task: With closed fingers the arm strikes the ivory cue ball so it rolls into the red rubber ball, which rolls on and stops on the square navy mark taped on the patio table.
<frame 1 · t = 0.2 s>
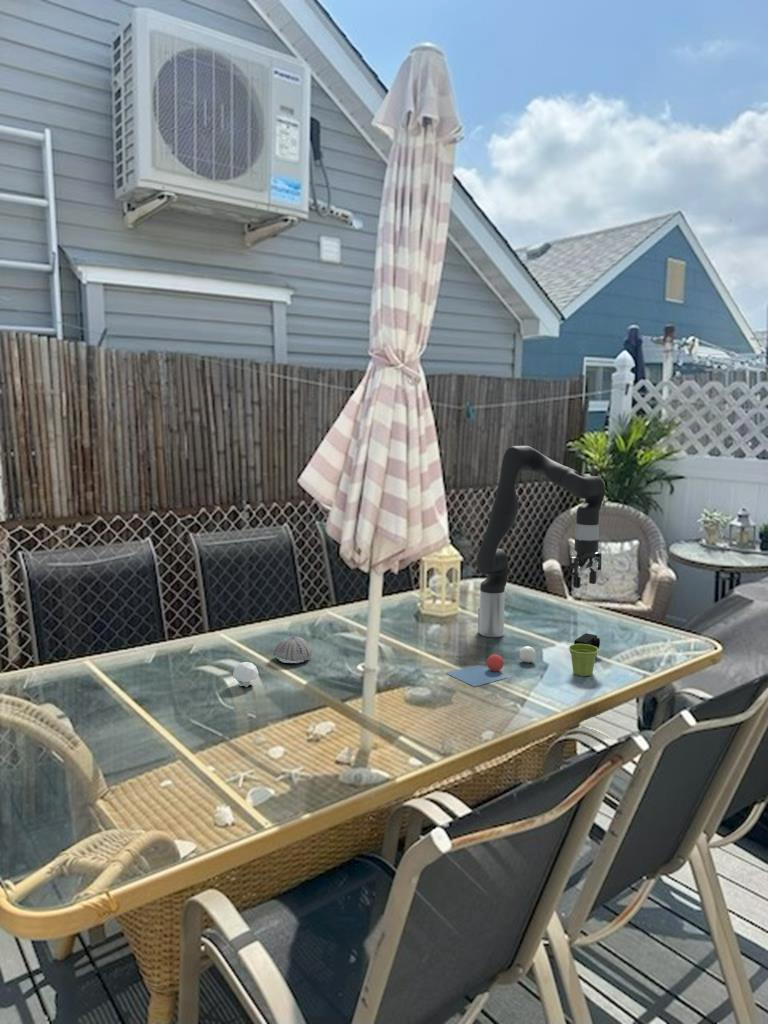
hand: (584, 585, 236), 28 cm above the table, tool pointing down, fingers open, 8 cm apart
plant pot: (582, 674, 235), on the table
red ball: (495, 662, 237), on the table
geometric ball: (246, 686, 224), on the table
digital camera: (586, 657, 251), on the table
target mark: (476, 675, 233), on the table
sea urchin shell: (293, 660, 248), on the table
cue ball: (527, 654, 245), on the table
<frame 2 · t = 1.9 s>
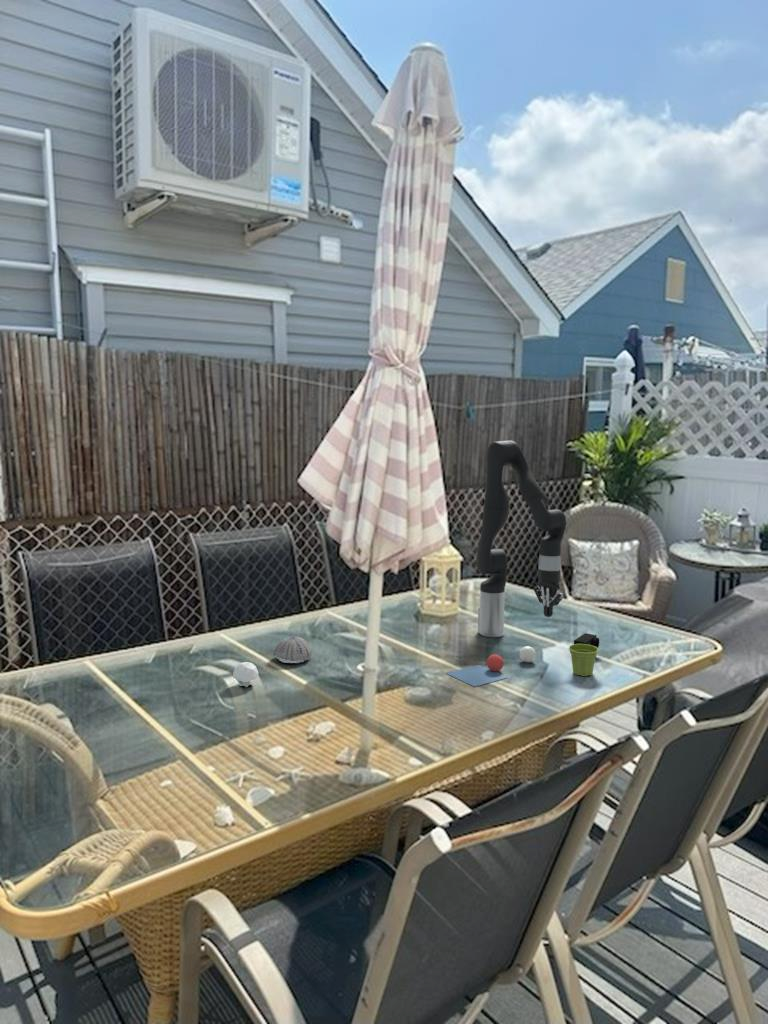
hand: (548, 616, 249), 15 cm above the table, tool pointing down, fingers closed
nothing on the table moved.
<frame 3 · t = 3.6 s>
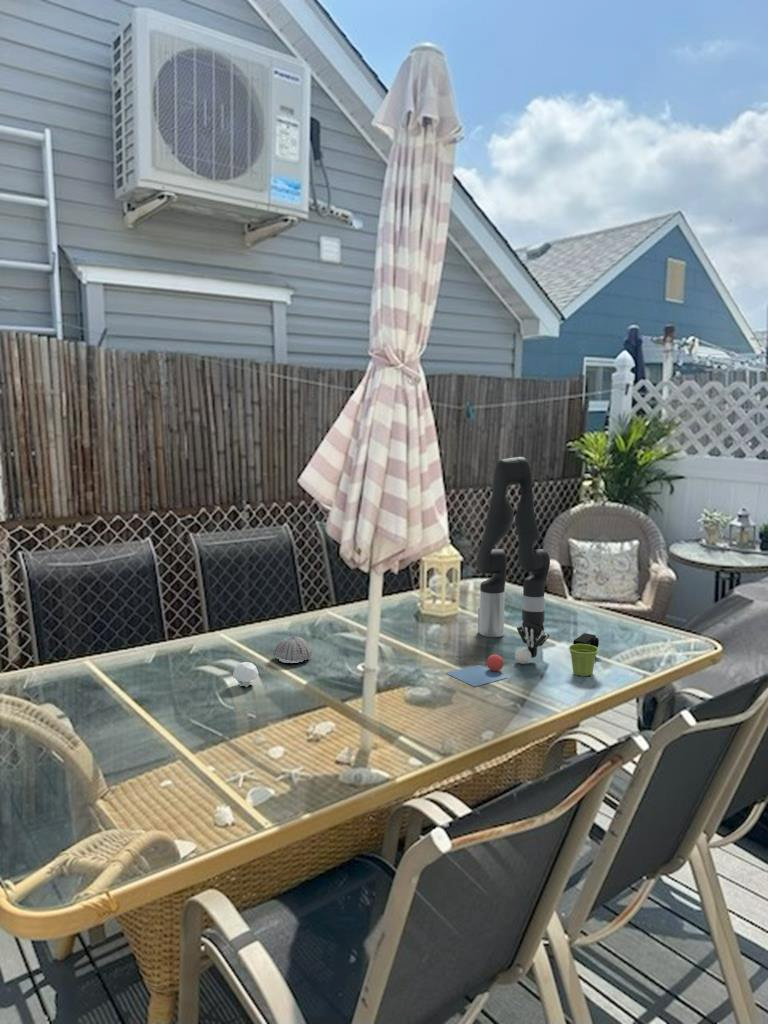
hand: (532, 656, 245), 2 cm above the table, tool pointing down, fingers closed
cue ball: (523, 655, 244), on the table, touching gripper
everything else where it was.
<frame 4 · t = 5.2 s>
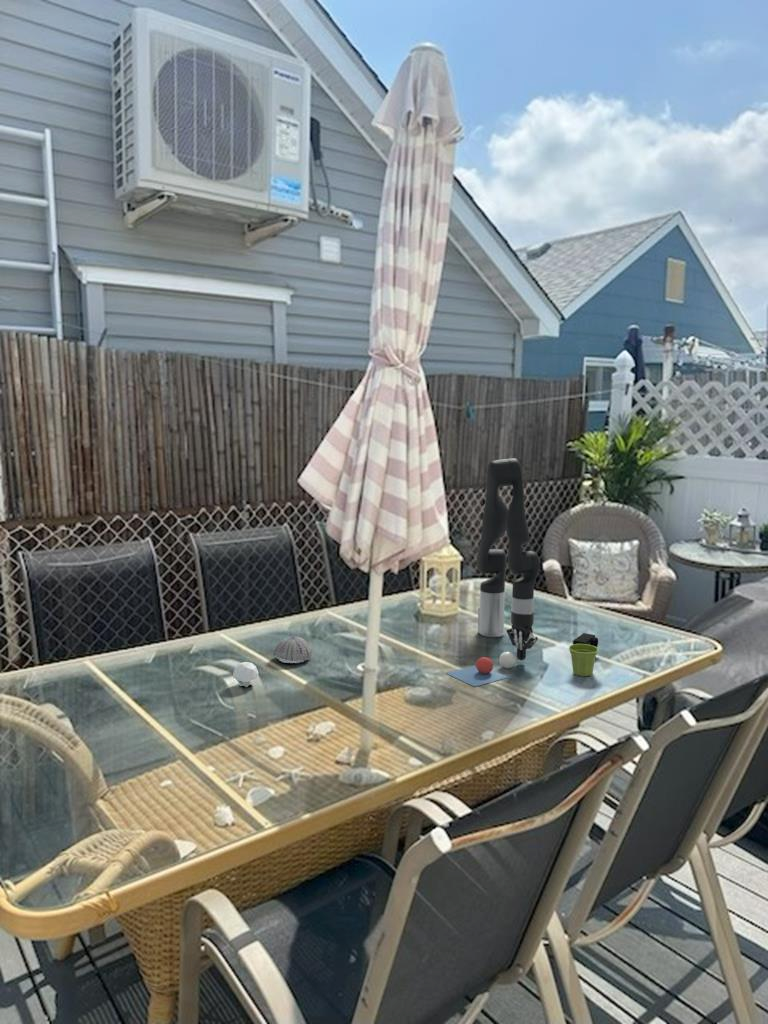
hand: (521, 659, 244), 1 cm above the table, tool pointing down, fingers closed
red ball: (484, 665, 234), on the table
cue ball: (507, 659, 240), on the table
everything else where it was.
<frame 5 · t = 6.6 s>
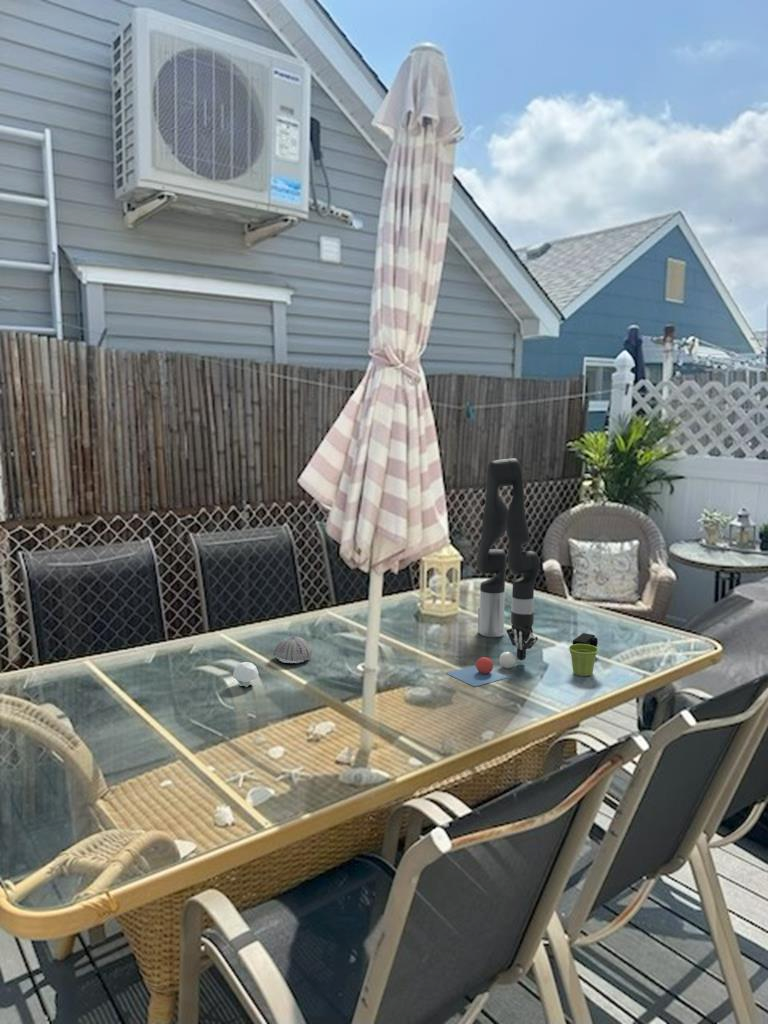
hand: (521, 659, 244), 1 cm above the table, tool pointing down, fingers closed
nothing on the table moved.
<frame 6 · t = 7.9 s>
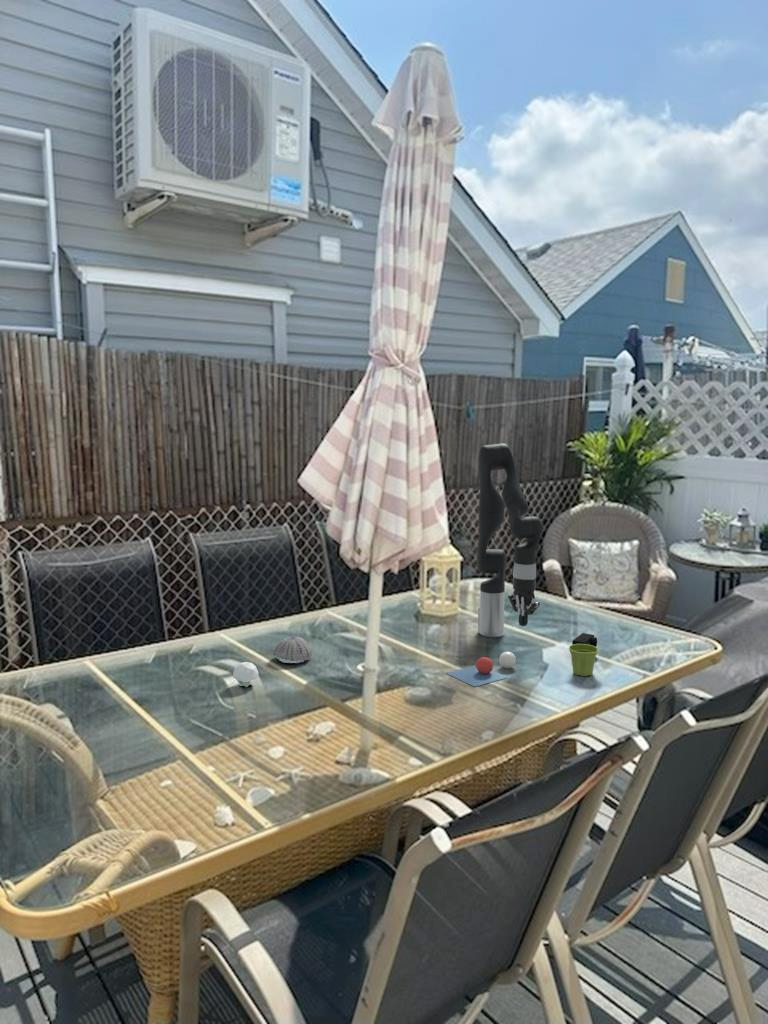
hand: (523, 625, 242), 13 cm above the table, tool pointing down, fingers closed
nothing on the table moved.
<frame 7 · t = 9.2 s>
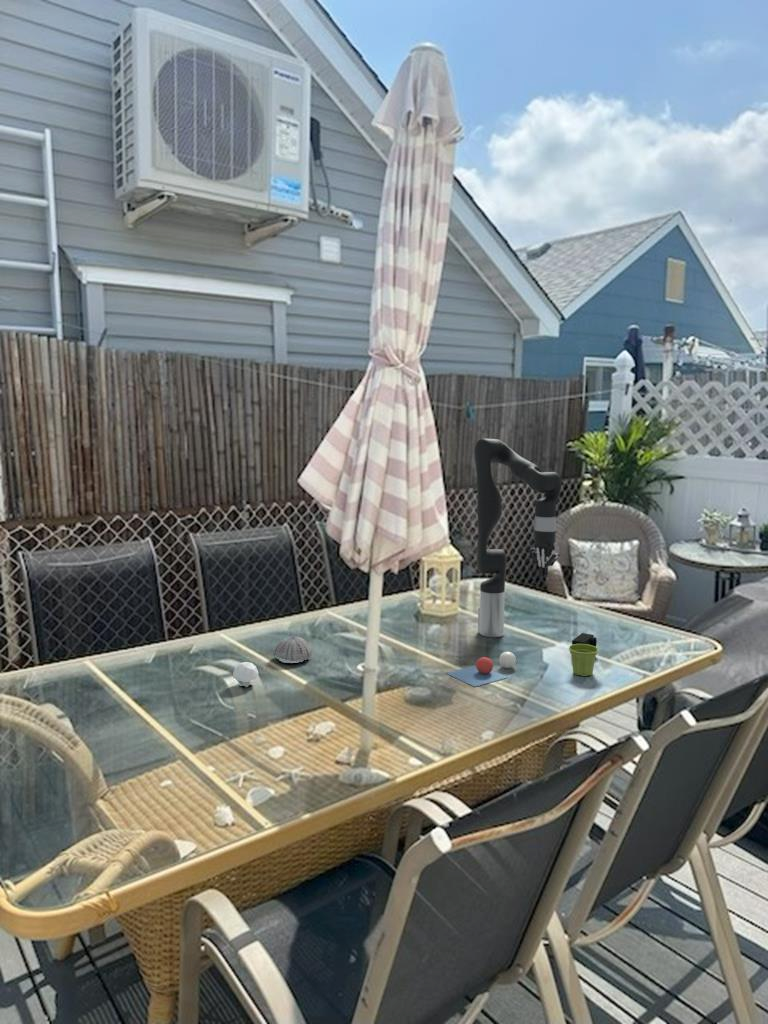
hand: (543, 577, 254), 27 cm above the table, tool pointing down, fingers closed
nothing on the table moved.
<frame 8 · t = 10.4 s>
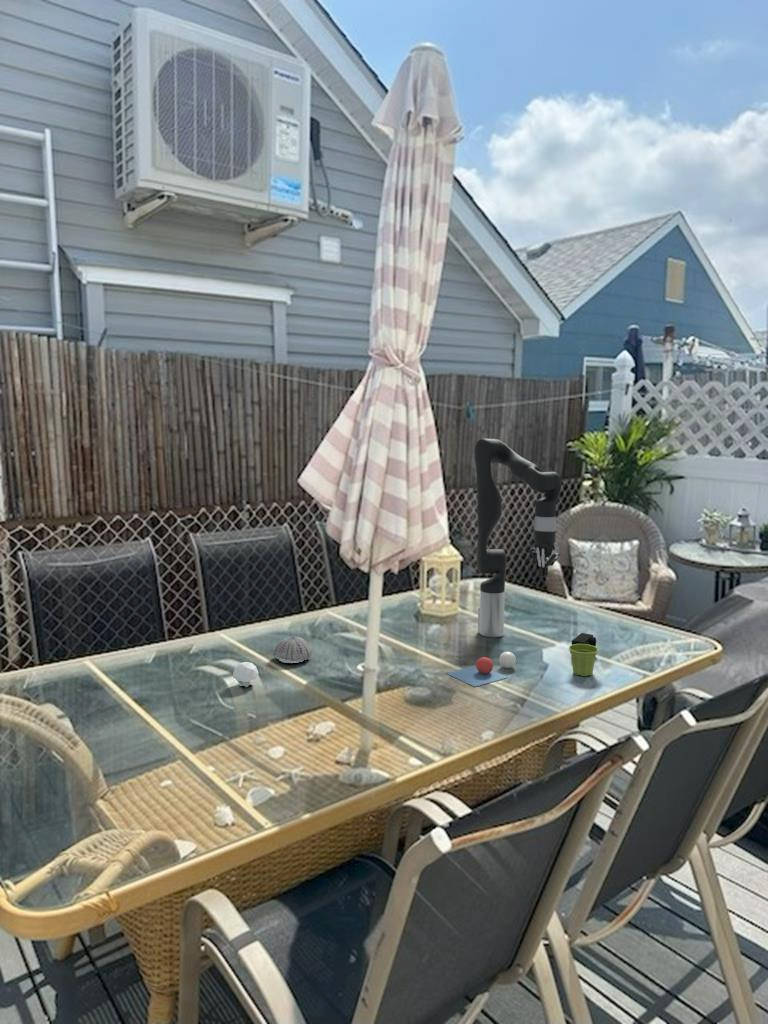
hand: (543, 576, 254), 27 cm above the table, tool pointing down, fingers closed
at the end: red ball 3.4 cm from the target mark (horizontally); red ball never touched the robot; cue ball first touched red ball at 4.0 s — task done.
